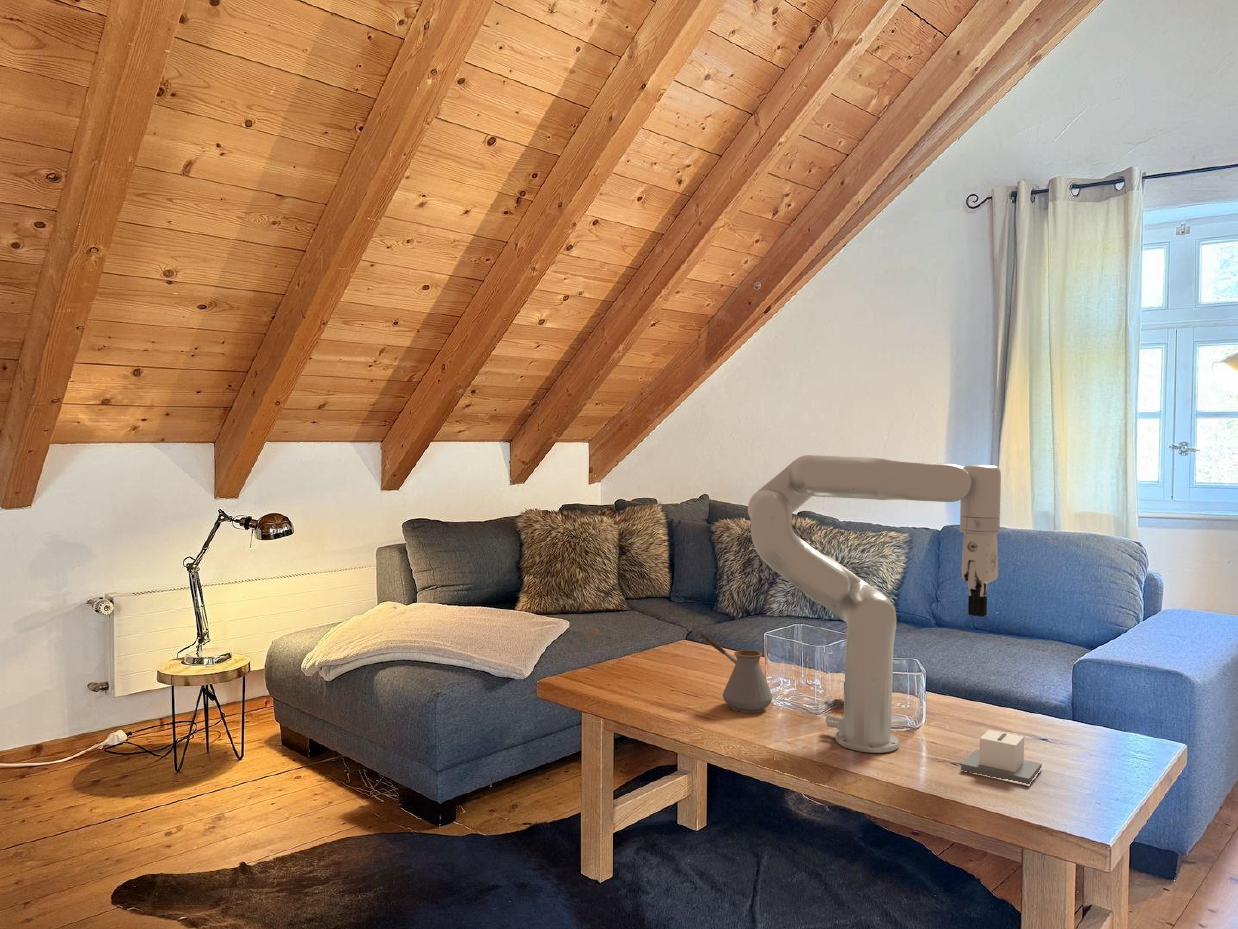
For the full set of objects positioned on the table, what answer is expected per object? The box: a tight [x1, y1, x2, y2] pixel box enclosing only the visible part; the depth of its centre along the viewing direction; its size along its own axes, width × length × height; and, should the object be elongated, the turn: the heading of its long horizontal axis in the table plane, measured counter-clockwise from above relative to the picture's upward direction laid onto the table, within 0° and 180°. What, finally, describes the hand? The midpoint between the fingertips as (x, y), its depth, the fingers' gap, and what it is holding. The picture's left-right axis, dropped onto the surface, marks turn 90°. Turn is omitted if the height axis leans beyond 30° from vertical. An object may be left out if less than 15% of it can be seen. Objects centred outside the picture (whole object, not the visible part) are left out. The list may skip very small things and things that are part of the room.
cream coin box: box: [978, 729, 1025, 772], centre depth 170 cm, size 6×6×5 cm
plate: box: [960, 749, 1043, 784], centre depth 170 cm, size 12×10×2 cm
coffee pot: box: [697, 632, 773, 714], centre depth 212 cm, size 21×12×15 cm, turn 41°
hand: (977, 615), depth 183 cm, fingers closed
